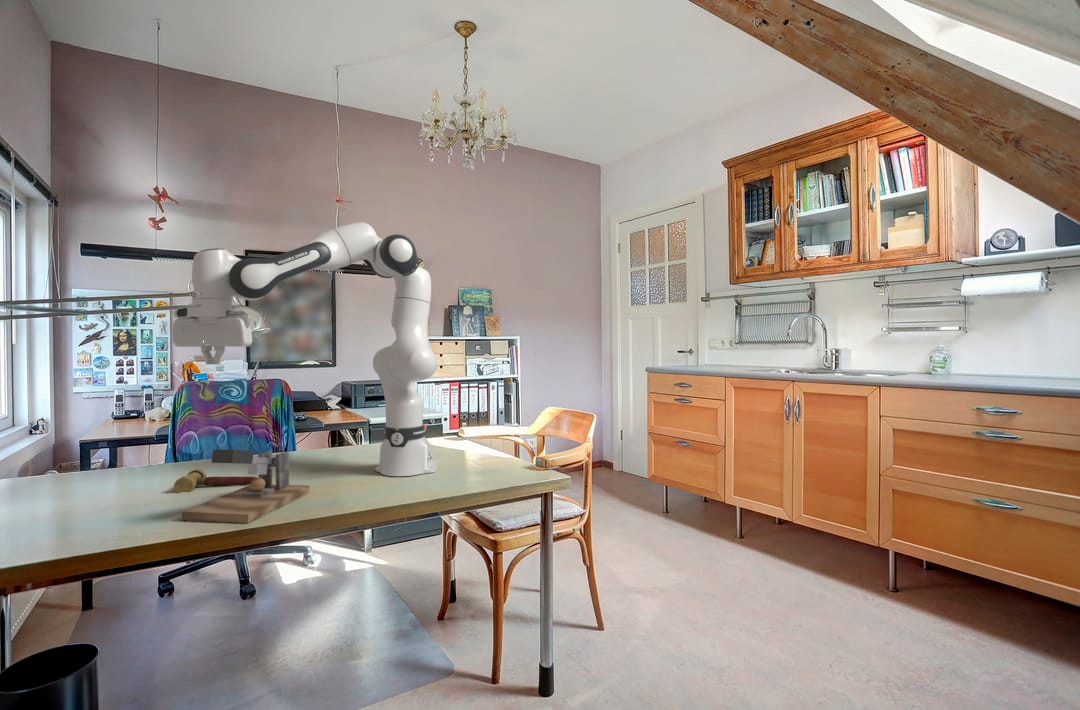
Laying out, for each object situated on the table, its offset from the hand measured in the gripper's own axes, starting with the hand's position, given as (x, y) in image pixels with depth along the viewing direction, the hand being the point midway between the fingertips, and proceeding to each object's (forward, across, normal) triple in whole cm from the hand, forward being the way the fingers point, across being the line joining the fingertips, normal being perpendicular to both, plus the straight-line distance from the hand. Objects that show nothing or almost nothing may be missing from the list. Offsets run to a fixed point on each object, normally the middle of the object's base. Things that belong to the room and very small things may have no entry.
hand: (213, 364), depth 138 cm
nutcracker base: (+34, -16, +8) cm, 38 cm away
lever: (+26, -16, +8) cm, 32 cm away
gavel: (+35, +4, -9) cm, 36 cm away
